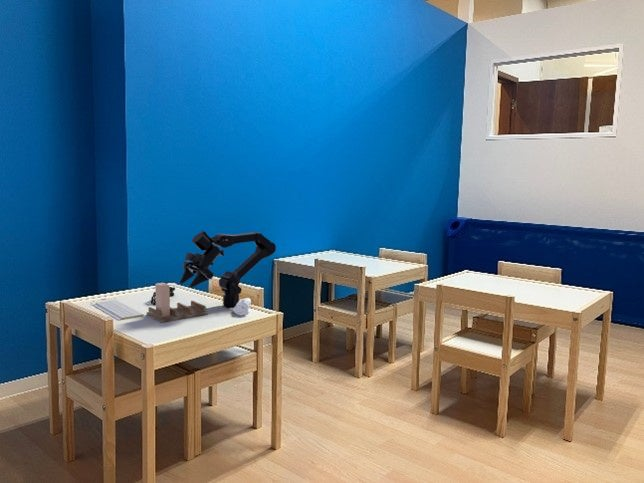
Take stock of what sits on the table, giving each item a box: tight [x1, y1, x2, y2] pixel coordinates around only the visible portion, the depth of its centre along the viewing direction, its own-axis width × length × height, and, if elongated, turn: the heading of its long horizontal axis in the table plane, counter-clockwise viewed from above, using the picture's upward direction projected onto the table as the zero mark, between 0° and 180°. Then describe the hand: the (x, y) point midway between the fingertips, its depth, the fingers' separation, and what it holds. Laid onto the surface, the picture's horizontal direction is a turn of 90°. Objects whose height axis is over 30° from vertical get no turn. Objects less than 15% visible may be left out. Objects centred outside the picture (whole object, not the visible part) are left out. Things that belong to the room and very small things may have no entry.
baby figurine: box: [232, 297, 252, 316], centre depth 237 cm, size 9×12×8 cm
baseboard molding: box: [90, 297, 144, 321], centre depth 236 cm, size 31×3×12 cm
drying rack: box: [146, 300, 209, 324], centre depth 231 cm, size 21×15×4 cm
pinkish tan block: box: [154, 282, 171, 317], centre depth 226 cm, size 4×6×13 cm, turn 40°
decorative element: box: [150, 286, 176, 306], centre depth 257 cm, size 22×5×6 cm, turn 175°
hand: (185, 285), depth 232 cm, fingers open, 9 cm apart
